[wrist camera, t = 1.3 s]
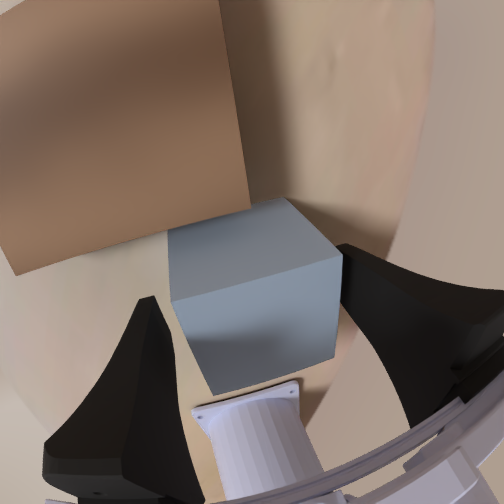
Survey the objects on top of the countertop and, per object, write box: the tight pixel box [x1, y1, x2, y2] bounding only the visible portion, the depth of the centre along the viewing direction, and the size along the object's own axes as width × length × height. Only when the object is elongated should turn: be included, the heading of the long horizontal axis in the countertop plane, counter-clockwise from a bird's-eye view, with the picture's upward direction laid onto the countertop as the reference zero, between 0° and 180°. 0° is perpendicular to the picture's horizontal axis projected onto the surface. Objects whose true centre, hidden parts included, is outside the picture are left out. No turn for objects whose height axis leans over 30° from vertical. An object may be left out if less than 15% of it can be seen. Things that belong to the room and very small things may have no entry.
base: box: [0, 0, 251, 276], centre depth 7 cm, size 9×9×3 cm
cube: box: [168, 197, 343, 396], centre depth 11 cm, size 5×5×5 cm
